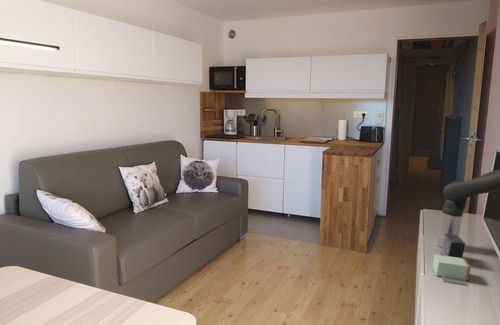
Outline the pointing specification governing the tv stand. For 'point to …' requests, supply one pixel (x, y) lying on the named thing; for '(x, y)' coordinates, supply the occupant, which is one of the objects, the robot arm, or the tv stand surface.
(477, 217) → the tv stand surface
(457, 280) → the mat
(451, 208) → the robot arm
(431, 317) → the tv stand surface
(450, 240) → the small box
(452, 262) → the sage block
